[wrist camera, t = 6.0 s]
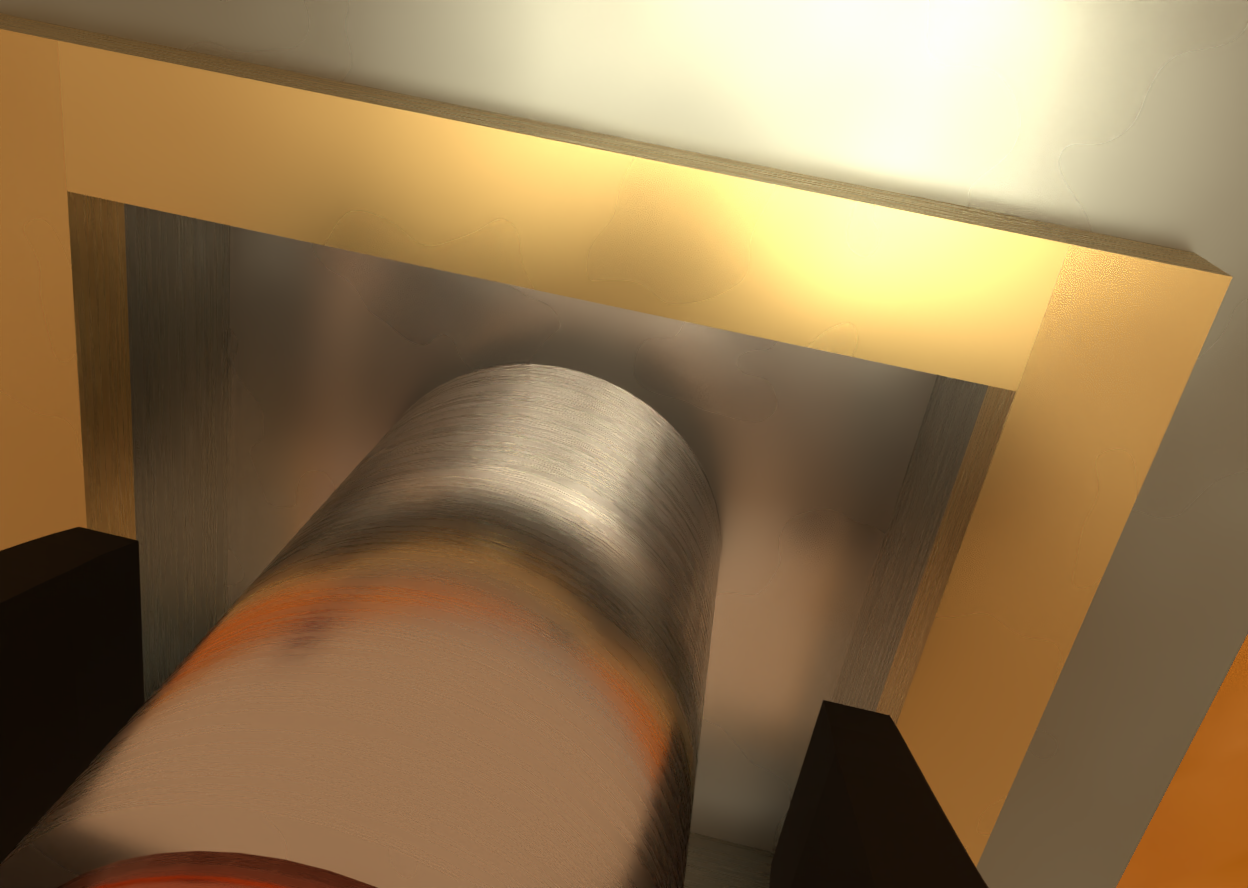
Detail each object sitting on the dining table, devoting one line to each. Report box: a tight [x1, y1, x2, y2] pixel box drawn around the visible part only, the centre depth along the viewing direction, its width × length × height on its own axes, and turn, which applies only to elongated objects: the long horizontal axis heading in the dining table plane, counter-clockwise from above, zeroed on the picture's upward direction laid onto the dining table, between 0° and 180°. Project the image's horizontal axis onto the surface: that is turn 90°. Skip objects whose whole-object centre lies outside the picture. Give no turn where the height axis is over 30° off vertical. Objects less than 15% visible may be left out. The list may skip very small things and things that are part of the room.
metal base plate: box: [0, 0, 1248, 888], centre depth 12 cm, size 20×14×4 cm
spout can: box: [0, 364, 721, 888], centre depth 9 cm, size 4×4×8 cm
